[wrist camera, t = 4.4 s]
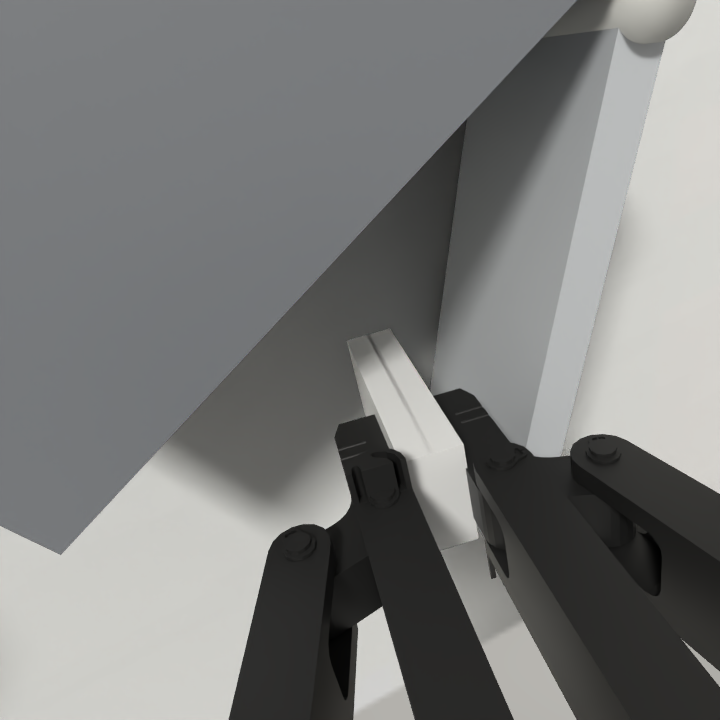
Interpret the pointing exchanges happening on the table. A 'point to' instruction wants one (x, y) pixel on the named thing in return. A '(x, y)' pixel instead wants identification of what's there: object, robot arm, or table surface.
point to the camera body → (195, 200)
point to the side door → (546, 214)
